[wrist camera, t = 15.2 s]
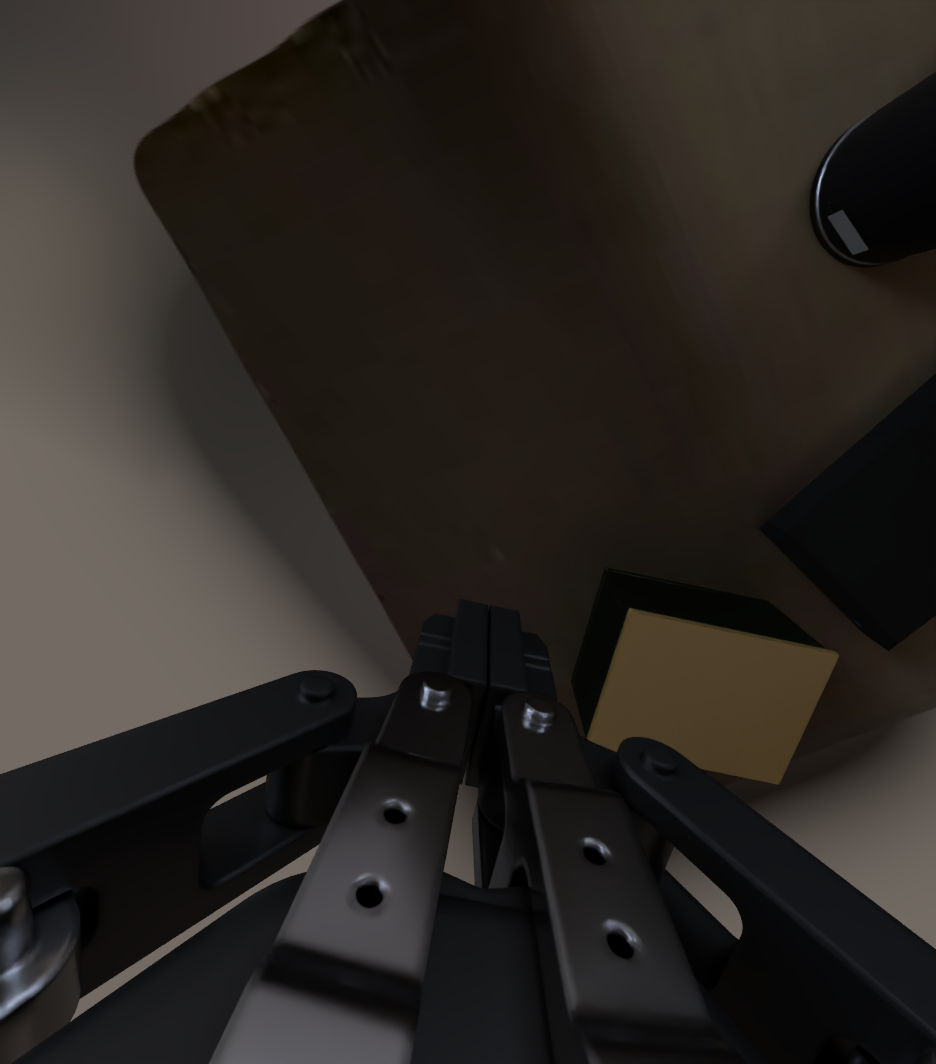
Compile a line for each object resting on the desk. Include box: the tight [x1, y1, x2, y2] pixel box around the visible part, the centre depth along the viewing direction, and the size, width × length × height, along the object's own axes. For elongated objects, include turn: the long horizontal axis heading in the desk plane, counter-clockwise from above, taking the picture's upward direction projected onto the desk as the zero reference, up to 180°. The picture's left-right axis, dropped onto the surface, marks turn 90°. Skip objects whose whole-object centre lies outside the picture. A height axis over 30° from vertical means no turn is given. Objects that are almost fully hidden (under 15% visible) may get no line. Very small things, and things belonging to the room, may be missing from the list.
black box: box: [571, 567, 825, 739], centre depth 43 cm, size 14×11×8 cm
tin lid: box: [587, 609, 839, 784], centre depth 39 cm, size 15×11×1 cm
